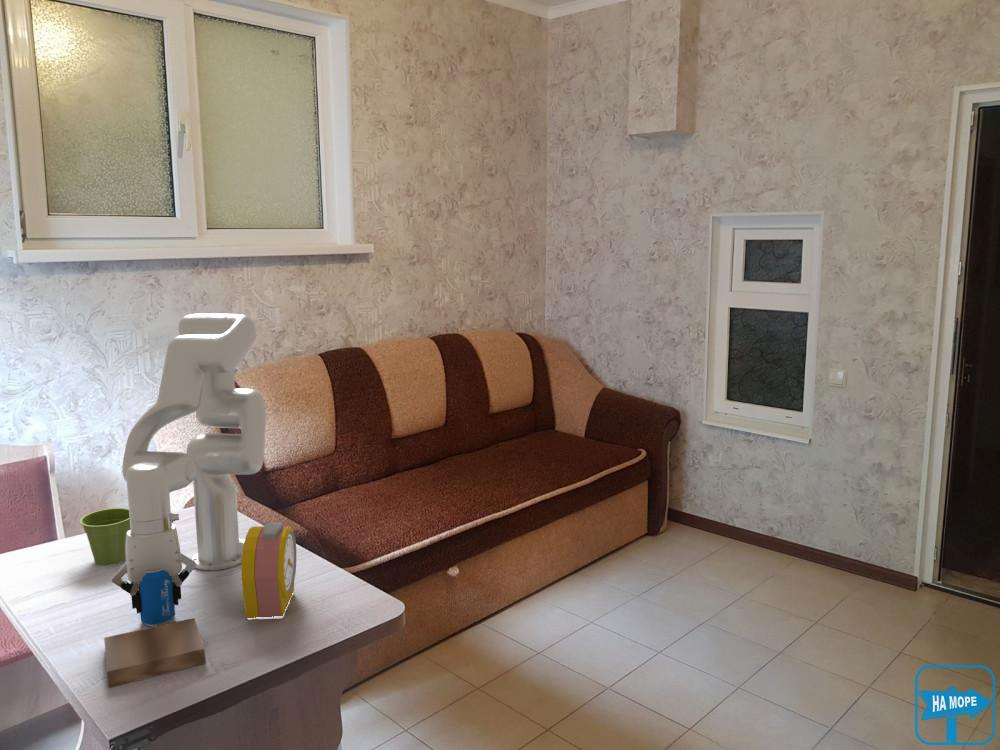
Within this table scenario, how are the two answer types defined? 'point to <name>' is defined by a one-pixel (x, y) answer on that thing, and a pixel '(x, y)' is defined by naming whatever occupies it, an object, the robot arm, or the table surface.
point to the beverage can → (156, 598)
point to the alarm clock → (268, 569)
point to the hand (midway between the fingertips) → (157, 605)
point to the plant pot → (107, 534)
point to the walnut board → (153, 651)
